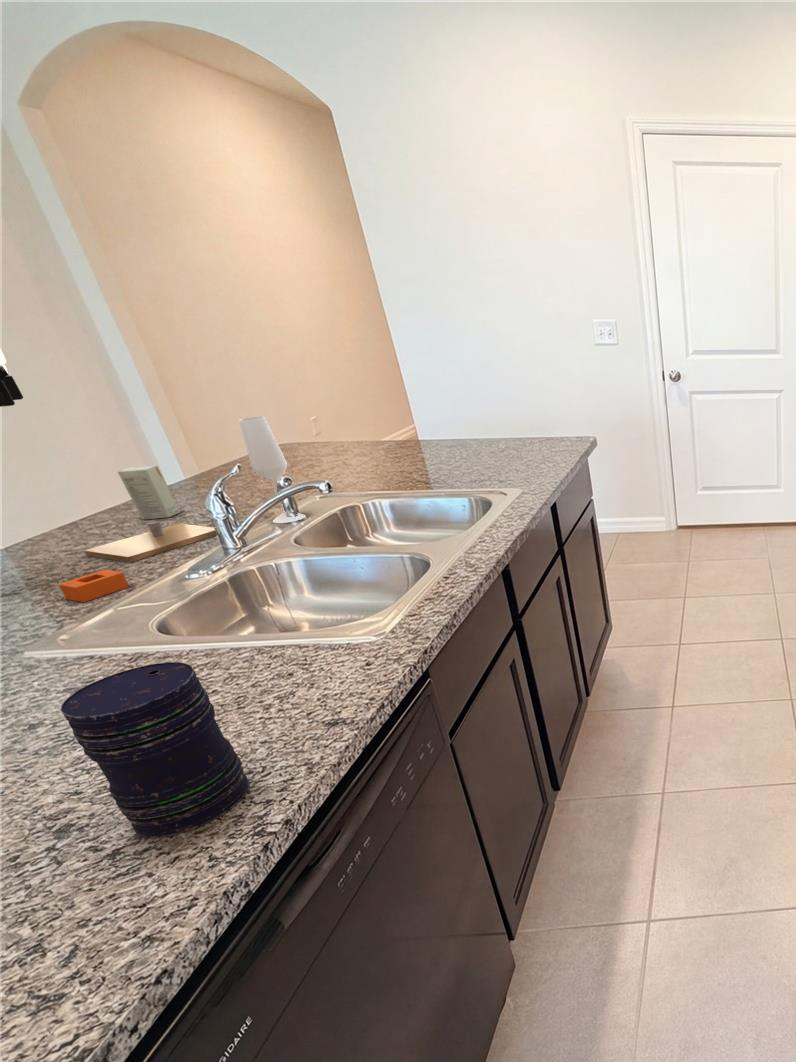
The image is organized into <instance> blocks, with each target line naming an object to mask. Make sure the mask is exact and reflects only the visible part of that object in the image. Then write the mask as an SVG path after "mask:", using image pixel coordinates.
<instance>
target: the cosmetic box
mask: <svg viewBox="0 0 796 1062" xmlns="http://www.w3.org/2000/svg"><path fill="white" fill-rule="evenodd" d="M117 474H118V475H119V477H120V479H121V481H122V483H123V485H124V487H125V490H126V491H127V493H128V495H129V497H130V499H131V501H132V503H133V505H134V506H135V509H136V511H137V512H138V515H139V516H140V518H141V520H153V519H155V520H156V519H165V518H170V517H173V516H175V515H178V514H179V513H181V510H180V509H179V506H178V504H177V502H176V500H175V498H174V496H173V494H172V492H171V490H170V488H169V485H168V484H167V482H166V480H165V478H164V476H163V474H162V471H161V469H160V468H159V465H145V466H132V467H131V466H130V467H128V468H124V469H121V470H118V471H117Z"/></svg>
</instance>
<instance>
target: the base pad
mask: <svg viewBox="0 0 796 1062" xmlns="http://www.w3.org/2000/svg"><path fill="white" fill-rule="evenodd" d="M147 527H148V528H149V530H150V531H147V532H144V533H139V534H137V535H133V536H129V537H125V538H122V539H119V540H115V541H112V542H109V543H105V544H102V545H99V546H95V547H91V548H88V549H84V550H83V552H84V555H86V557H93V558H98V559H99V558H100V559H104V560H105V559H107V560H113V561H119V562H127V563H133V562H136V561H140V560H142V559H143V560H144V559H146V558H149V557H153V556H156V555H159V554H162V553H165V552H168V551H171V550H174V549H178V548H180V547H181V548H182V547H184V546H187V545H190V544H194V543H197V542H199V541H200V542H201V541H203V540H206V539H209V538H212V537H215V536H218V535H217V533H216V531H215V529H214V528H215V527H211V526H204V525H197V524H186V523H180V522H179V523H174V524H172V525H168V526H164V527H163V526H162V524H161V522H160V521H159V520H154V521H149V522H147Z"/></svg>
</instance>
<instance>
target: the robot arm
mask: <svg viewBox="0 0 796 1062" xmlns="http://www.w3.org/2000/svg"><path fill="white" fill-rule="evenodd" d="M6 364H7V359H6V357H5V355H4V353H3V351H2V349H1V348H0V408H1V407H13V406H14V405H16V404H15V401H18V400H23V399H24V395H23V393H22V392H21V390H20V388H19V386H18V385H17V382H16V381H15V379H14V377H13V375H11V373H10V371H9V369H7V367H6Z"/></svg>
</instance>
